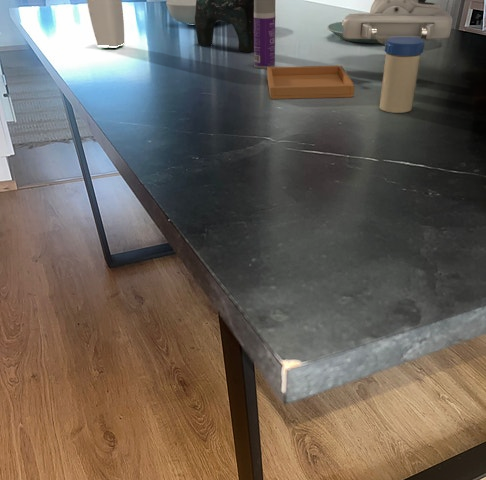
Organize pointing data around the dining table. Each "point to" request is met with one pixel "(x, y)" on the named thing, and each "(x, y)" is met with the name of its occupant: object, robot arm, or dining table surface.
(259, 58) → the container
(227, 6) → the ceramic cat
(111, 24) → the cup
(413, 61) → the jar
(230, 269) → the dining table surface
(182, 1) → the serving bowl
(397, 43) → the lid
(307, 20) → the dining table surface
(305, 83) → the tray
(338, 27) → the plate
